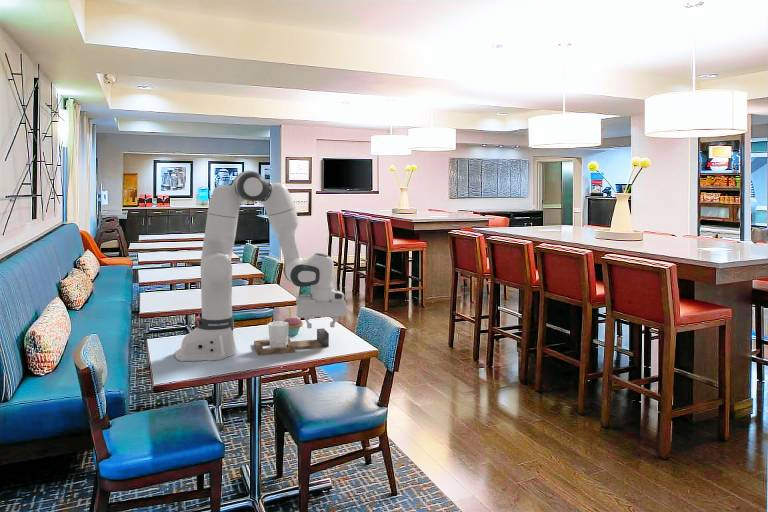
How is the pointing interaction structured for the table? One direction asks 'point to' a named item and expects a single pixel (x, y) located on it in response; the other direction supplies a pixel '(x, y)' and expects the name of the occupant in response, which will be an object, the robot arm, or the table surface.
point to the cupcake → (293, 325)
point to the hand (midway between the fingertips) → (320, 327)
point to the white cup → (278, 334)
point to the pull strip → (295, 344)
